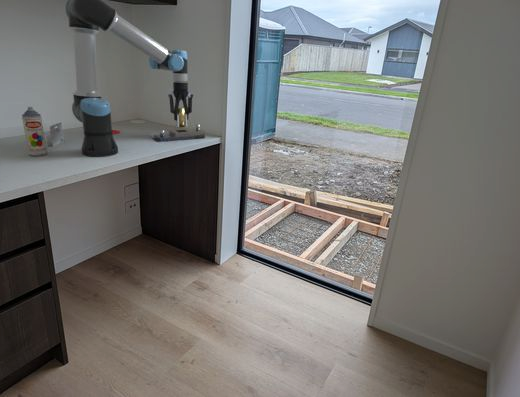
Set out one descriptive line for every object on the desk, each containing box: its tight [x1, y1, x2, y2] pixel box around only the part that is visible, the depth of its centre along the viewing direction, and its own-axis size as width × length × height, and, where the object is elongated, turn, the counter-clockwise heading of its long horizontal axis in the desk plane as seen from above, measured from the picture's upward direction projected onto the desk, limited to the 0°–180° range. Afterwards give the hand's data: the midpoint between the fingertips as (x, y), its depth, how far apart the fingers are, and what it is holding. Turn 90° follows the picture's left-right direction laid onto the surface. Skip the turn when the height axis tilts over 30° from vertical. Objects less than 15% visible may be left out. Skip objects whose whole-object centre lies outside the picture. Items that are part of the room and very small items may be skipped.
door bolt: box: [153, 123, 206, 143], centre depth 199 cm, size 26×9×7 cm, turn 124°
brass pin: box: [177, 107, 186, 128], centre depth 197 cm, size 4×4×10 cm
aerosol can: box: [21, 106, 48, 158], centre depth 152 cm, size 7×7×20 cm
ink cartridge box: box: [45, 122, 65, 148], centre depth 171 cm, size 2×11×10 cm, turn 1°
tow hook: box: [112, 129, 121, 135], centre depth 202 cm, size 8×13×9 cm
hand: (181, 126), depth 198 cm, fingers closed on brass pin, 4 cm apart
